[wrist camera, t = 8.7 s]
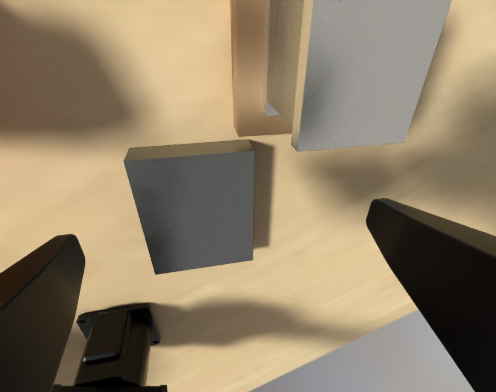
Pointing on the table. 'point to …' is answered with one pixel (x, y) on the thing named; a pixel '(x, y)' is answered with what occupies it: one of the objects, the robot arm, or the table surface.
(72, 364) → the table surface
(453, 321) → the robot arm
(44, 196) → the table surface
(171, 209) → the stand
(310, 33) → the block
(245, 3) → the stand
